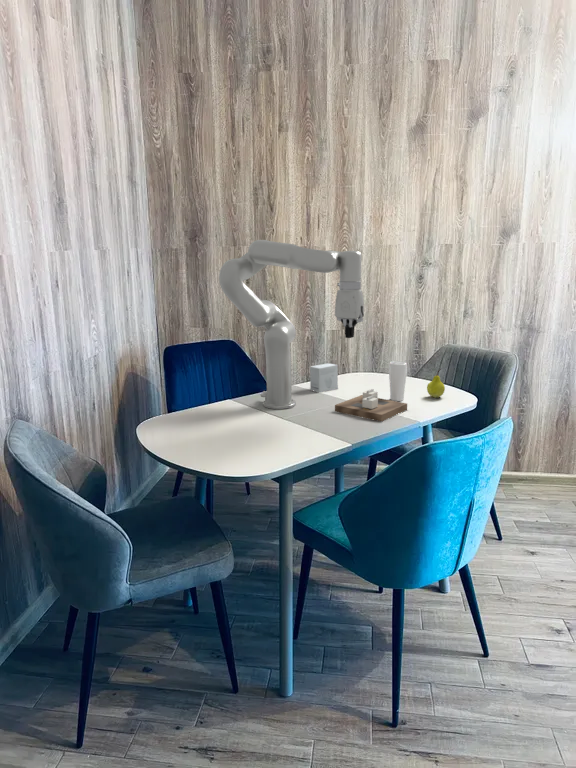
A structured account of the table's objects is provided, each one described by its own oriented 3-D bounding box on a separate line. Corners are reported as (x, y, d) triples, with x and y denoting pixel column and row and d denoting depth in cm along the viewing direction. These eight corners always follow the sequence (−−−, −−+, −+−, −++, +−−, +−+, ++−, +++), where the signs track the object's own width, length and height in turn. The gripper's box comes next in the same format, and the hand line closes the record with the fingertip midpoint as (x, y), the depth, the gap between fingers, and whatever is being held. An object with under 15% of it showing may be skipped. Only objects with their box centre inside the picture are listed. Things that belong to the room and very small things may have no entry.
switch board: (334, 411, 209) (334, 404, 209) (361, 401, 223) (361, 394, 222) (381, 421, 197) (381, 414, 196) (407, 410, 210) (407, 403, 210)
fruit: (423, 397, 227) (424, 367, 225) (432, 394, 232) (434, 365, 229) (437, 400, 222) (439, 370, 220) (447, 397, 227) (449, 368, 224)
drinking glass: (407, 402, 220) (408, 364, 217) (389, 402, 221) (390, 364, 217) (404, 397, 227) (405, 360, 223) (387, 397, 227) (388, 361, 224)
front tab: (362, 407, 205) (362, 396, 204) (368, 404, 208) (368, 394, 207) (371, 409, 202) (372, 398, 201) (377, 406, 205) (378, 396, 204)
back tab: (362, 400, 214) (362, 390, 213) (368, 397, 217) (368, 388, 216) (371, 401, 211) (371, 392, 210) (377, 399, 214) (377, 389, 213)
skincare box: (328, 386, 247) (328, 362, 245) (338, 389, 242) (338, 364, 240) (309, 389, 241) (309, 365, 239) (319, 392, 236) (319, 368, 234)
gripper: (327, 286, 204) (326, 336, 208) (362, 288, 194) (361, 340, 199) (339, 285, 209) (338, 334, 214) (373, 286, 200) (372, 338, 204)
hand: (349, 337), depth 206 cm, fingers closed
